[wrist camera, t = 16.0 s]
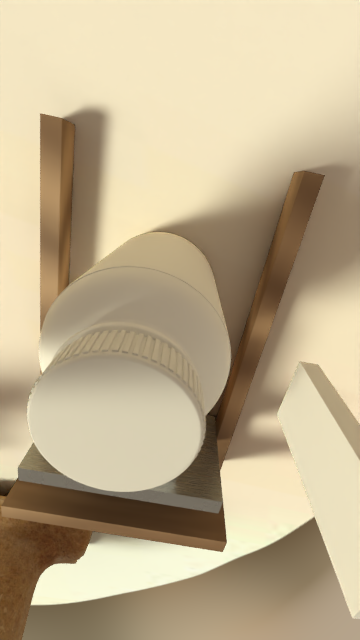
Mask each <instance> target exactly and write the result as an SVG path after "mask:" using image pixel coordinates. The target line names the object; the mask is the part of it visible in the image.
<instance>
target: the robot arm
mask: <svg viewBox="0 0 360 640" xmlns="http://www.w3.org/2000/svg"><path fill="white" fill-rule="evenodd" d="M277 416H278V419H279V421H280V424H281V427H282V429H283V432H284V435H285V438H286V440H287V443H288V446H289V448H290V451H291V454H292V456H293V459H294V462H295V465H296V467H297V470H298V473H299V475H300V478H301V481H302V483H303V486H304V489H305V492H306V494H307V497H308V500H309V502H310V505H311V508H312V510H313V513H314V516H315V518H316V521H317V524H318V526H319V529H320V532H321V535H322V537H323V540H324V543H325V545H326V548H327V551H328V553H329V556H330V559H331V562H332V564H333V567H334V570H335V572H336V575H337V578H338V580H339V583H340V586H341V589H342V591H343V594H344V596H345V599H346V602H347V605H348V607H349V610H350V613H351V615H352V618H355V619H360V424H359V423H358V421H357V420H356V418H355V417H354V416H353V414H352V413H351V411H350V410H349V408H348V407H347V405H346V404H345V403H344V401H343V400H342V398H341V397H340V395H339V394H338V393H337V391H336V390H335V388H334V387H333V385H332V384H331V382H330V381H329V380H328V378H327V377H326V375H325V374H324V372H323V371H322V369H321V368H320V367H319V365H316V364H311V363H305V362H299V364H298V366H297V369H296V371H295V373H294V376H293V378H292V380H291V383H290V385H289V387H288V390H287V392H286V394H285V396H284V399H283V401H282V403H281V406H280V408H279V410H278V413H277Z"/></svg>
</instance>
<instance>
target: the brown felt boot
mask: <svg viewBox="0 0 360 640" xmlns="http://www.w3.org/2000/svg"><path fill="white" fill-rule="evenodd" d="M5 498H6V496H0V640H22V635H23V632H24V628H25V624H26V620H27V616H28V612H29V608H30V605H31V601H32V597H33V593H34V590H35V587H36V584H37V581H38V579H39V577H40V575H41V574H42V573H43V572H44V570H45V569H47V568H48V567H49V566H51V565H53V564H58V563H70V564H74V563H76V562H77V560H78V559H80V557H82V556H83V555H84V553H85V551H86V549H87V546H88V544H89V541H90V538H91V535H92V531H89V530H83V529H77V528H70V527H64V526H58V525H52V524H45V523H39V522H33V521H27V520H21V519H14V518H8V517H2V512H1V505H2V503H3V502H4V500H5Z"/></svg>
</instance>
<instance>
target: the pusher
mask: <svg viewBox="0 0 360 640" xmlns="http://www.w3.org/2000/svg"><path fill="white" fill-rule="evenodd" d="M205 419H206V432H205V438H204V440H203V445H202V446H201V450H200V452H198V455H197V457H196V458H195V459H194V461H193V462H192V463H191V465H190V466H189V467H188V468H187V469H186V470H185V471H184V472H183V473H181V474H180V475H179V476H177V477H176V478H174V479H173V480H171V481H169V482H167V483H165V484H163V485H160V486H157V487H154V488H151V489H147V490H141V491H133V492H116V491H107V490H101V489H97V488H93V487H90V486H87V485H84V484H82V483H79V482H77V481H75V480H73V479H71V478H69V477H67V476H66V475H64V474H62V473H61V472H60V471H58V470H57V469H56V468H54V467H53V466H52V465H51V464H50V463H49V462H48V461H47V460H46V459H45V458H44V457H43V456H42V454H41V453H40V452H39V450H38V449H37V447H36V445H35V444H34V443H33V444H32V446H31V448H30V449H29V451H28V452H27V454H26V456H25V457H24V459H23V460H22V462H21V464H20V465H19V467H18V480H19V481H25V482H31V483H37V484H43V485H50V486H56V487H62V488H68V489H74V490H80V491H86V492H92V493H98V494H104V495H110V496H116V497H122V498H128V499H134V500H140V501H146V502H152V503H158V504H164V505H170V506H176V507H182V508H188V509H194V510H200V511H206V512H212V513H219V511H220V508H221V505H222V503H223V499H222V488H221V478H220V467H219V457H218V446H217V436H216V425H215V416H209V415H206V416H205Z"/></svg>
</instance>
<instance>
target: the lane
mask: <svg viewBox="0 0 360 640" xmlns="http://www.w3.org/2000/svg"><path fill="white" fill-rule="evenodd" d="M74 137H75V125H74V124H72V123H70V122H68V121H66V120H64V119H63V118H59V117H54V116H50V115H45V114H40V334H41V329H42V326H43V323H44V320H45V317H46V315H47V312H48V310H49V309H50V307H51V305H52V304H53V302H54V301H55V299H56V298H57V297H58V296H59V295H60V293H61V292H62V291H63V290H64V289H65V288H66V287H68V286H69V262H70V237H71V212H72V187H73V162H74ZM324 176H325V175H321V174H316V173H312V172H307V171H301V172H294V174H293V177H292V180H291V183H290V186H289V190H288V193H287V196H286V199H285V202H284V206H283V209H282V212H281V215H280V218H279V221H278V225H277V228H276V231H275V234H274V237H273V241H272V244H271V247H270V250H269V253H268V256H267V260H266V263H265V266H264V269H263V272H262V275H261V279H260V282H259V285H258V288H257V291H256V295H255V298H254V301H253V304H252V307H251V310H250V314H249V317H248V320H247V323H246V326H245V330H244V333H243V336H242V339H241V342H240V345H239V349H238V352H237V355H236V358H235V361H234V364H233V368H232V371H231V374H230V377H229V380H228V384H227V387H226V390H225V393H224V396H223V399H222V403H221V406H220V409H219V412H218V415H217V419H216V422H215V425H216V436H217V446H218V457H219V467H220V470H221V467H222V464H223V461H224V458H225V455H226V453H227V450H228V447H229V444H230V441H231V438H232V436H233V433H234V430H235V427H236V424H237V421H238V419H239V416H240V413H241V410H242V407H243V405H244V402H245V399H246V396H247V393H248V390H249V388H250V385H251V382H252V379H253V376H254V373H255V371H256V368H257V365H258V362H259V359H260V357H261V354H262V351H263V348H264V345H265V342H266V340H267V337H268V334H269V331H270V328H271V325H272V323H273V320H274V317H275V314H276V311H277V309H278V306H279V303H280V300H281V297H282V294H283V292H284V289H285V286H286V283H287V280H288V277H289V275H290V272H291V269H292V266H293V263H294V261H295V258H296V255H297V252H298V249H299V246H300V244H301V241H302V238H303V235H304V232H305V229H306V227H307V224H308V221H309V218H310V215H311V212H312V210H313V207H314V204H315V201H316V198H317V196H318V193H319V190H320V187H321V184H322V181H323V179H324ZM41 374H42V371H41ZM220 478H221V477H220ZM222 499H223V498H222ZM1 512H2V517H8V518H14V519H21V520H27V521H33V522H39V523H45V524H52V525H58V526H64V527H70V528H77V529H83V530H89V531H95V532H101V533H108V534H114V535H120V536H126V537H133V538H139V539H145V540H151V541H158V542H164V543H170V544H176V545H182V546H189V547H195V548H201V549H207V550H214V551H220V552H223V550H224V548H225V545H226V543H227V540H226V530H225V519H224V509H223V503H222V505H221V508H220V511H219V513H212V512H206V511H200V510H194V509H188V508H182V507H176V506H170V505H164V504H158V503H152V502H146V501H140V500H134V499H128V498H122V497H116V496H110V495H104V494H98V493H92V492H86V491H80V490H74V489H68V488H62V487H56V486H50V485H43V484H37V483H31V482H25V481H19V480H18V479H17V480H16V482H15V483H14V485H13V487H12V488H11V490H10V492H9V493H8V495H7V497H6V498H5V500H4V502H3V503H2V505H1Z"/></svg>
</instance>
